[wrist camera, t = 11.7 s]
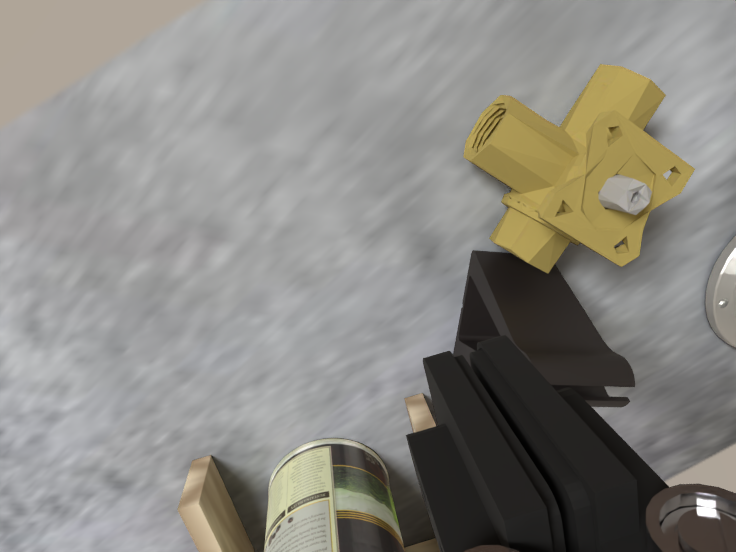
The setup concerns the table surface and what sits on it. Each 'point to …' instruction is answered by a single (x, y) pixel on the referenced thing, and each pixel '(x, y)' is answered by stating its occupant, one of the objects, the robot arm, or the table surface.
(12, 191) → the table surface
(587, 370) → the phone stand
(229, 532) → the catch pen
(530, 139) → the ball valve
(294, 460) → the coffee can
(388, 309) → the table surface
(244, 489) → the table surface
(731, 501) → the robot arm
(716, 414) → the table surface
